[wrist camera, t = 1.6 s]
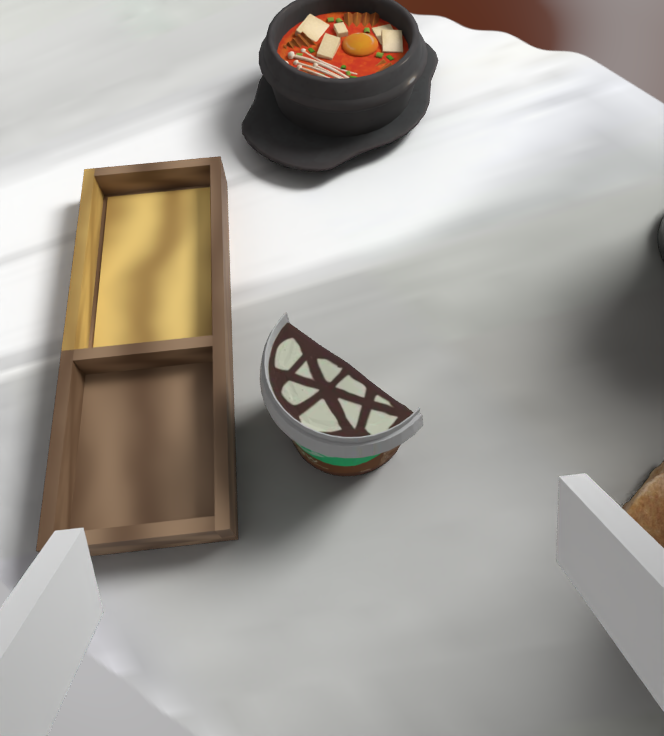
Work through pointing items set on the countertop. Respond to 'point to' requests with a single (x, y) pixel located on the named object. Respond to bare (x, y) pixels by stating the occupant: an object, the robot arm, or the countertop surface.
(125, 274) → the walnut divided tray
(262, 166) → the countertop surface
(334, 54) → the casserole
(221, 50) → the countertop surface
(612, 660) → the countertop surface
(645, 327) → the countertop surface
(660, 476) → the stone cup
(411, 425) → the food container
